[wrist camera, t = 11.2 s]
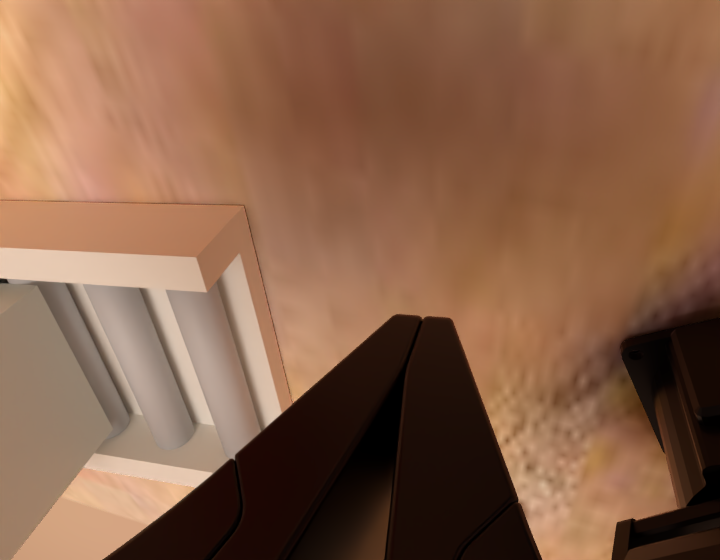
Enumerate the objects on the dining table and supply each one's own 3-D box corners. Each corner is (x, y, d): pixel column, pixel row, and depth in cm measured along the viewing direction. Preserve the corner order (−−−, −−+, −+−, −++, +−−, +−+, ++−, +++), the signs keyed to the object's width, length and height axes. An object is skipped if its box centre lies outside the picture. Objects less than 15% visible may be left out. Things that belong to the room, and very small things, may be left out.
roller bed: (243, 205, 22) (195, 257, 19) (300, 436, 30) (272, 501, 27) (-147, 197, 28) (-233, 235, 25) (-16, 392, 36) (-69, 441, 33)
